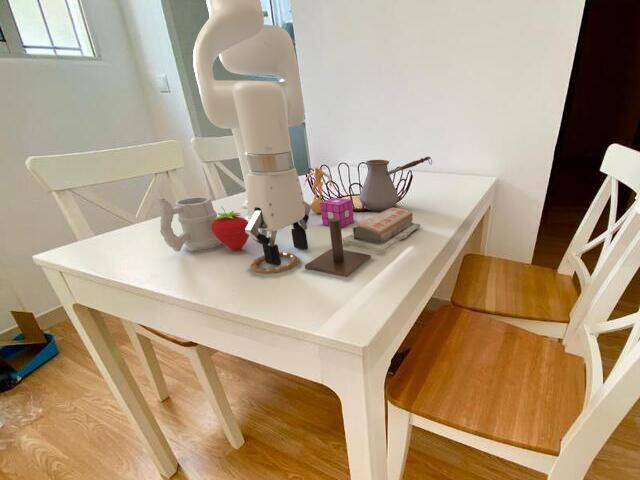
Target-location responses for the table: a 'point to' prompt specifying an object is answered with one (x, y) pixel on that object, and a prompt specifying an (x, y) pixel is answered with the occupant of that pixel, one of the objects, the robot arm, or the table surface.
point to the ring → (274, 270)
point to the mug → (189, 223)
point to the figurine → (318, 176)
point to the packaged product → (382, 230)
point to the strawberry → (230, 230)
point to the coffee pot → (382, 185)
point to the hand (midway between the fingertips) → (288, 254)
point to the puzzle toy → (337, 211)
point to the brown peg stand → (337, 255)
